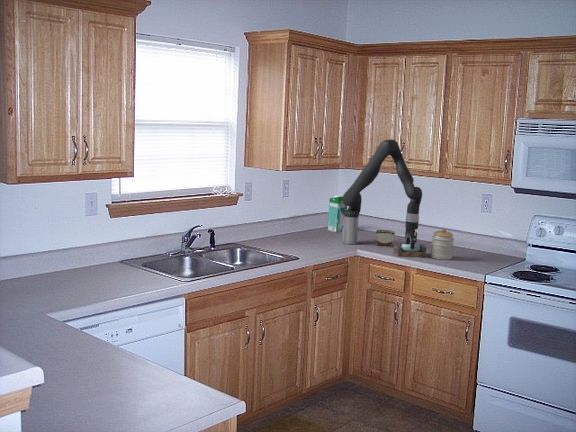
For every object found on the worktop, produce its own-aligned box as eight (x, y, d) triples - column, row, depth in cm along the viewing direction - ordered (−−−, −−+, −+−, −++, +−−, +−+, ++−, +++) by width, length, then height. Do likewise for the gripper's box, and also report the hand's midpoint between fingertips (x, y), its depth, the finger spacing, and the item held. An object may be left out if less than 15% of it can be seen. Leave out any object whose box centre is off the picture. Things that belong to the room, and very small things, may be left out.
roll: (404, 249, 393) (402, 242, 396) (402, 254, 396) (400, 247, 400) (420, 249, 394) (418, 242, 397) (418, 254, 398) (416, 247, 401)
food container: (393, 245, 424) (394, 230, 422) (394, 247, 418) (395, 231, 416) (374, 244, 425) (375, 228, 424) (374, 246, 419) (375, 230, 417)
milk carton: (336, 229, 473) (338, 194, 469) (345, 231, 466) (348, 196, 462) (327, 230, 467) (329, 194, 463) (336, 232, 460) (338, 196, 456)
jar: (449, 261, 386) (451, 231, 384) (427, 257, 393) (429, 228, 390) (455, 257, 398) (457, 228, 395) (433, 254, 404) (436, 225, 401)
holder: (397, 256, 392) (398, 247, 391) (393, 253, 400) (394, 244, 400) (425, 257, 394) (426, 247, 393) (420, 253, 403) (421, 244, 402)
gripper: (402, 218, 400) (400, 245, 403) (410, 222, 387) (407, 249, 389) (414, 218, 402) (412, 245, 404) (422, 222, 388) (420, 250, 390)
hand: (410, 247), depth 397 cm, fingers open, 8 cm apart
